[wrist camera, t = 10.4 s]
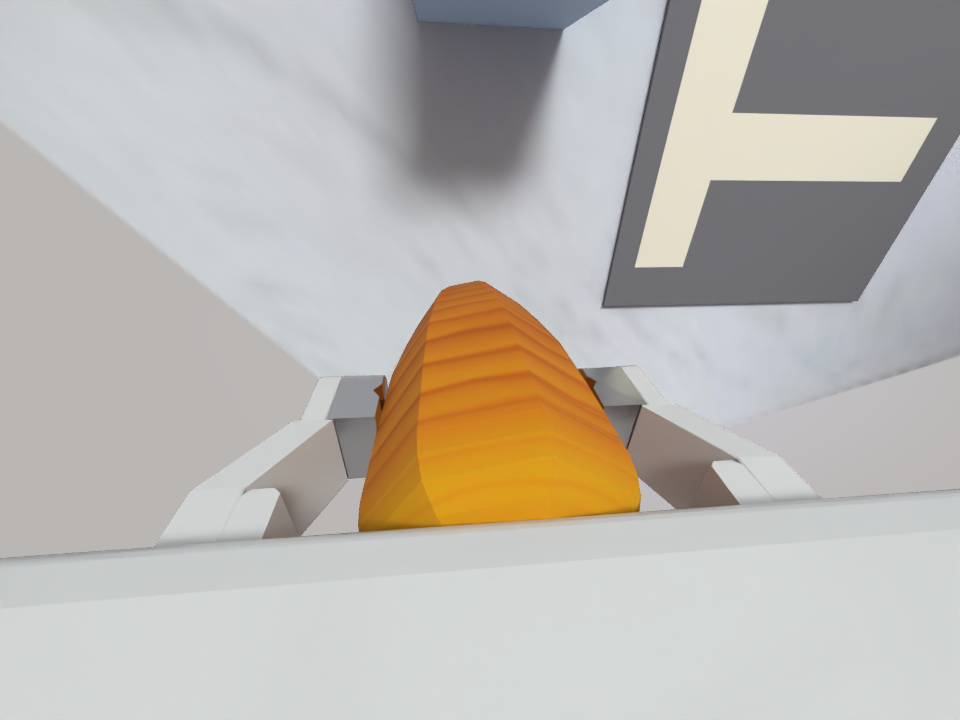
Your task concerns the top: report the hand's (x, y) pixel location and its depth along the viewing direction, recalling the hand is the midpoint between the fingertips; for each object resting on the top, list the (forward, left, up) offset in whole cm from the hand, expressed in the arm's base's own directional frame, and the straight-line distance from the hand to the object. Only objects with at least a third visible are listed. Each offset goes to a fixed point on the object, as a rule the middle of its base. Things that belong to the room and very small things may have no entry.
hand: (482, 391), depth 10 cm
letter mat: (-14, -5, -9) cm, 18 cm away
